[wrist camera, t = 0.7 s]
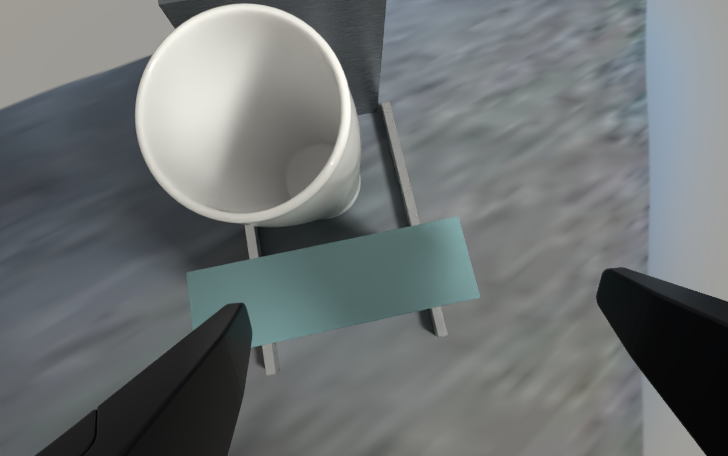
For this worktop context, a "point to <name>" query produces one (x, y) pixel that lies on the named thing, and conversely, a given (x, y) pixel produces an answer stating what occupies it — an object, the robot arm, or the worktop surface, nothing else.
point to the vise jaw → (340, 282)
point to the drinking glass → (250, 119)
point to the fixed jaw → (362, 71)
